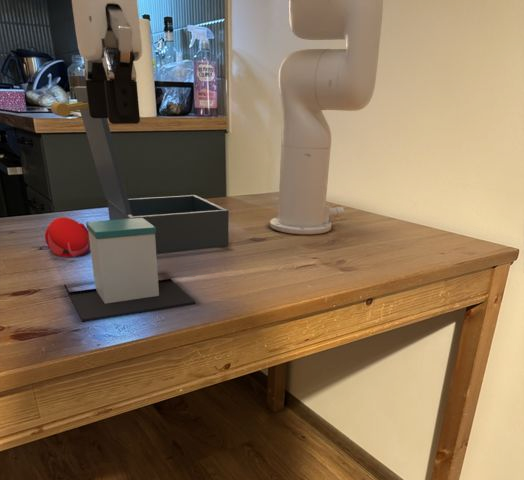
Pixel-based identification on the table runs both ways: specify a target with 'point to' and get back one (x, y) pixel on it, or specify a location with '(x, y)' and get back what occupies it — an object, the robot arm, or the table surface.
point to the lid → (99, 149)
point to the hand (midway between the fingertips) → (113, 120)
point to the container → (124, 259)
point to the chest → (179, 221)
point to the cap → (67, 237)
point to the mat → (128, 302)
